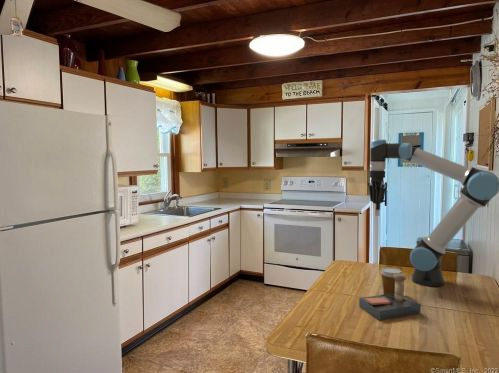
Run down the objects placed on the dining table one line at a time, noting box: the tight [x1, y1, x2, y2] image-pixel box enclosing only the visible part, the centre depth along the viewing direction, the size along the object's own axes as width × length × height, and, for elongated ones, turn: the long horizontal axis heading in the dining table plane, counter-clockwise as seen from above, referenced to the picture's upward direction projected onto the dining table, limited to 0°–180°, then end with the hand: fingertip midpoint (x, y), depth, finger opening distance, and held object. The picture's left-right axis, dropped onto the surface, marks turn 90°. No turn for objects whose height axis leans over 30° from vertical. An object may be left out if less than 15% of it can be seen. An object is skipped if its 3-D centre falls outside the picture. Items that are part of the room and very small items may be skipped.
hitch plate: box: [358, 293, 422, 321], centre depth 158 cm, size 20×14×4 cm
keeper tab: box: [365, 296, 393, 305], centre depth 156 cm, size 10×6×1 cm, turn 108°
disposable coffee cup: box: [380, 266, 403, 295], centre depth 174 cm, size 10×10×12 cm
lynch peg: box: [394, 273, 407, 302], centre depth 159 cm, size 5×5×15 cm
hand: (376, 215), depth 191 cm, fingers closed
